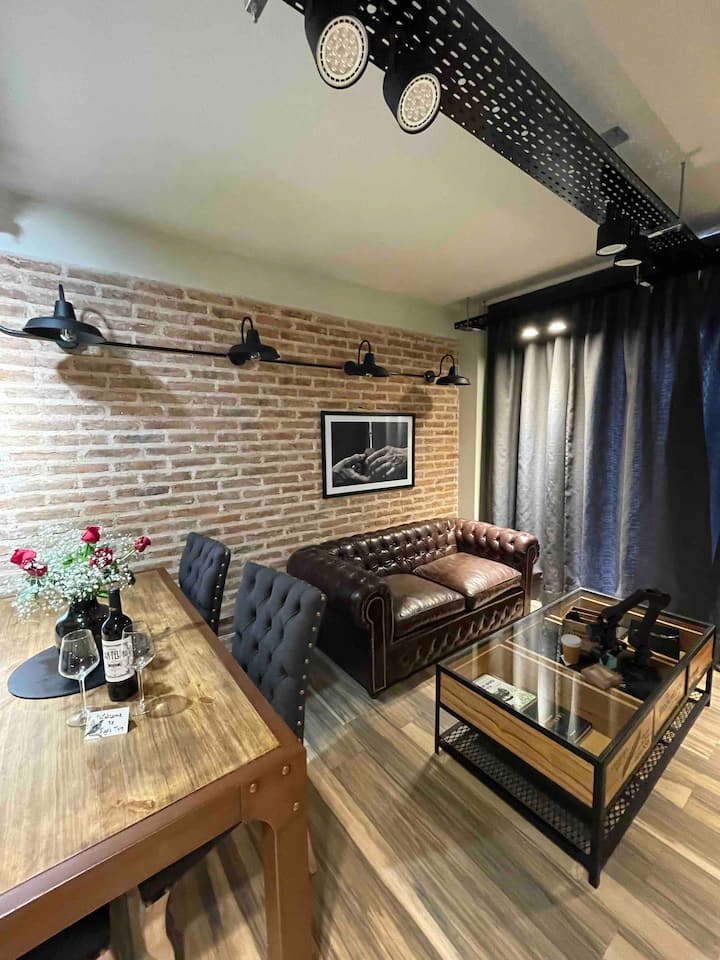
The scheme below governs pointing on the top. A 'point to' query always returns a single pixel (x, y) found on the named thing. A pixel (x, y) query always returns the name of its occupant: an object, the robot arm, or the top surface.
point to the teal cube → (610, 662)
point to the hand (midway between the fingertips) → (608, 663)
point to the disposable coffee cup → (571, 648)
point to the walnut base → (601, 676)
